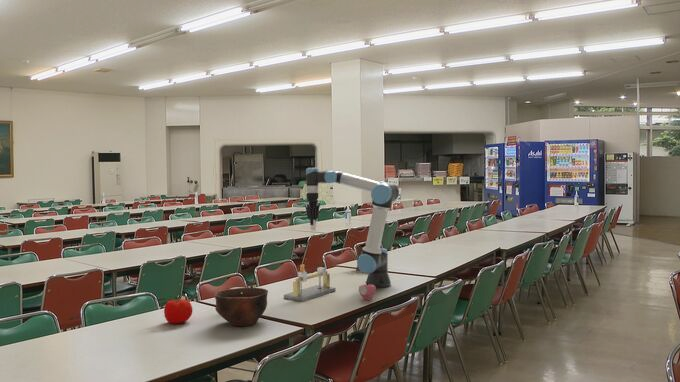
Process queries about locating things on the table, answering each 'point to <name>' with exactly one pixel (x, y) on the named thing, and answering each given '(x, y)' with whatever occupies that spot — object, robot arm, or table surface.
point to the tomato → (177, 311)
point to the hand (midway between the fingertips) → (313, 230)
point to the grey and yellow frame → (311, 291)
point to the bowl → (241, 305)
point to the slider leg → (303, 275)
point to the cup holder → (359, 251)
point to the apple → (367, 291)
